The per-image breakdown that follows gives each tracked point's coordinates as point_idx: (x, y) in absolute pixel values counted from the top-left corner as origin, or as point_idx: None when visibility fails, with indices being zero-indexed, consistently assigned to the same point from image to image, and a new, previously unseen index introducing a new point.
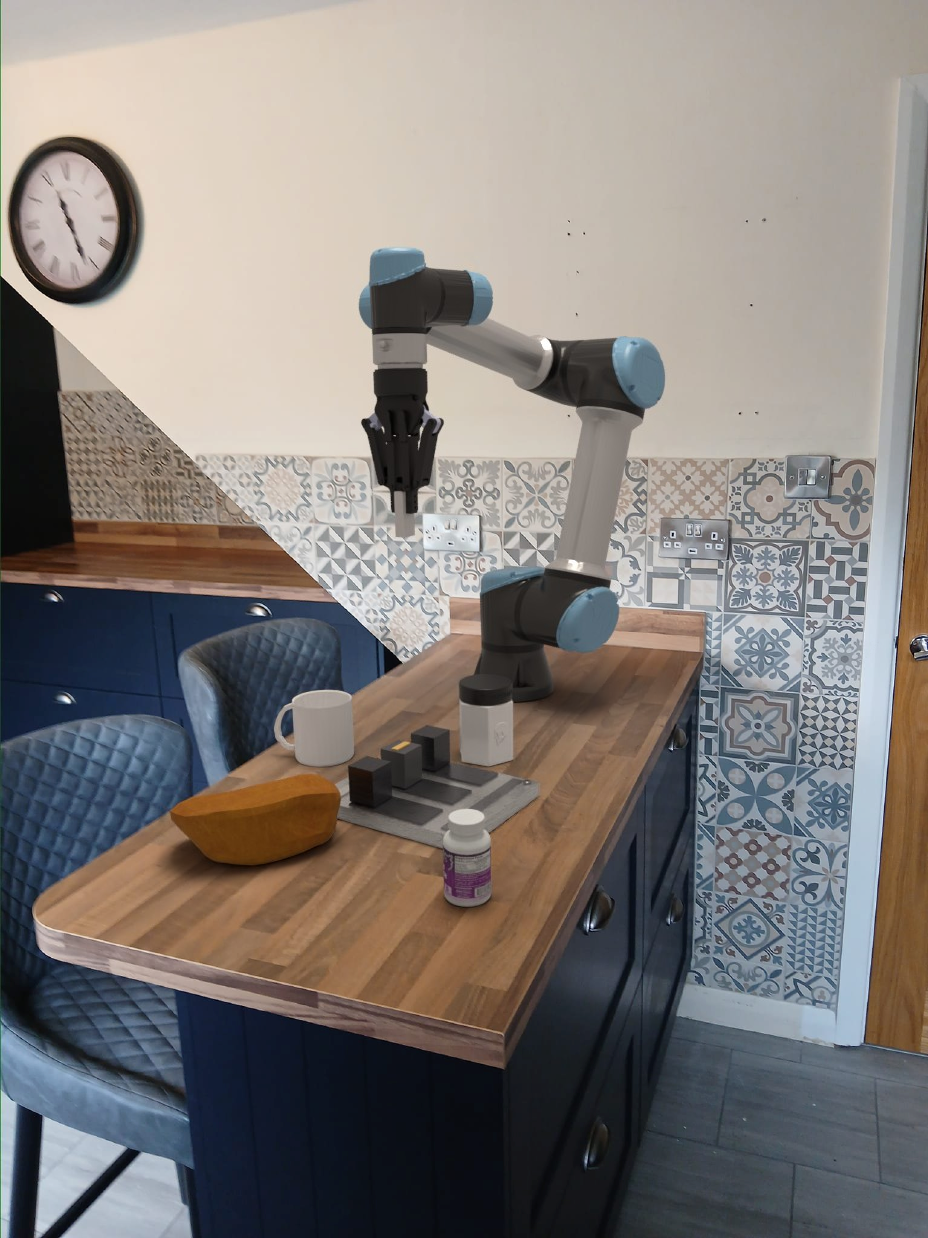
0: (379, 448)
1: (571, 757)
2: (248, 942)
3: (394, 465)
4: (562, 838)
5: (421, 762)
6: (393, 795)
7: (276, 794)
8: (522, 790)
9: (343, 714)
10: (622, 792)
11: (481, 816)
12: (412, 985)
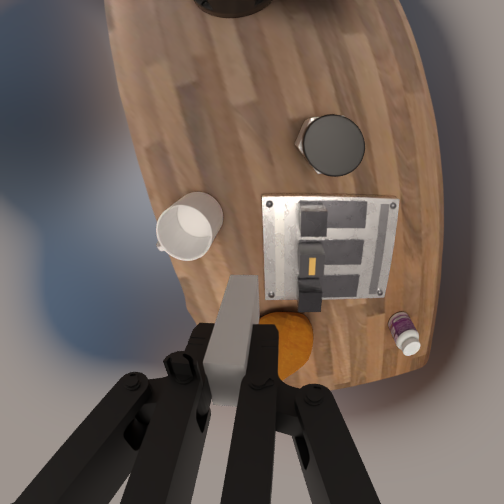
0: (98, 502)
1: (384, 111)
2: (327, 380)
3: (196, 477)
4: (425, 247)
5: (322, 248)
6: None
7: (292, 364)
8: (394, 218)
9: (214, 232)
10: (439, 163)
11: (418, 345)
12: (396, 368)
